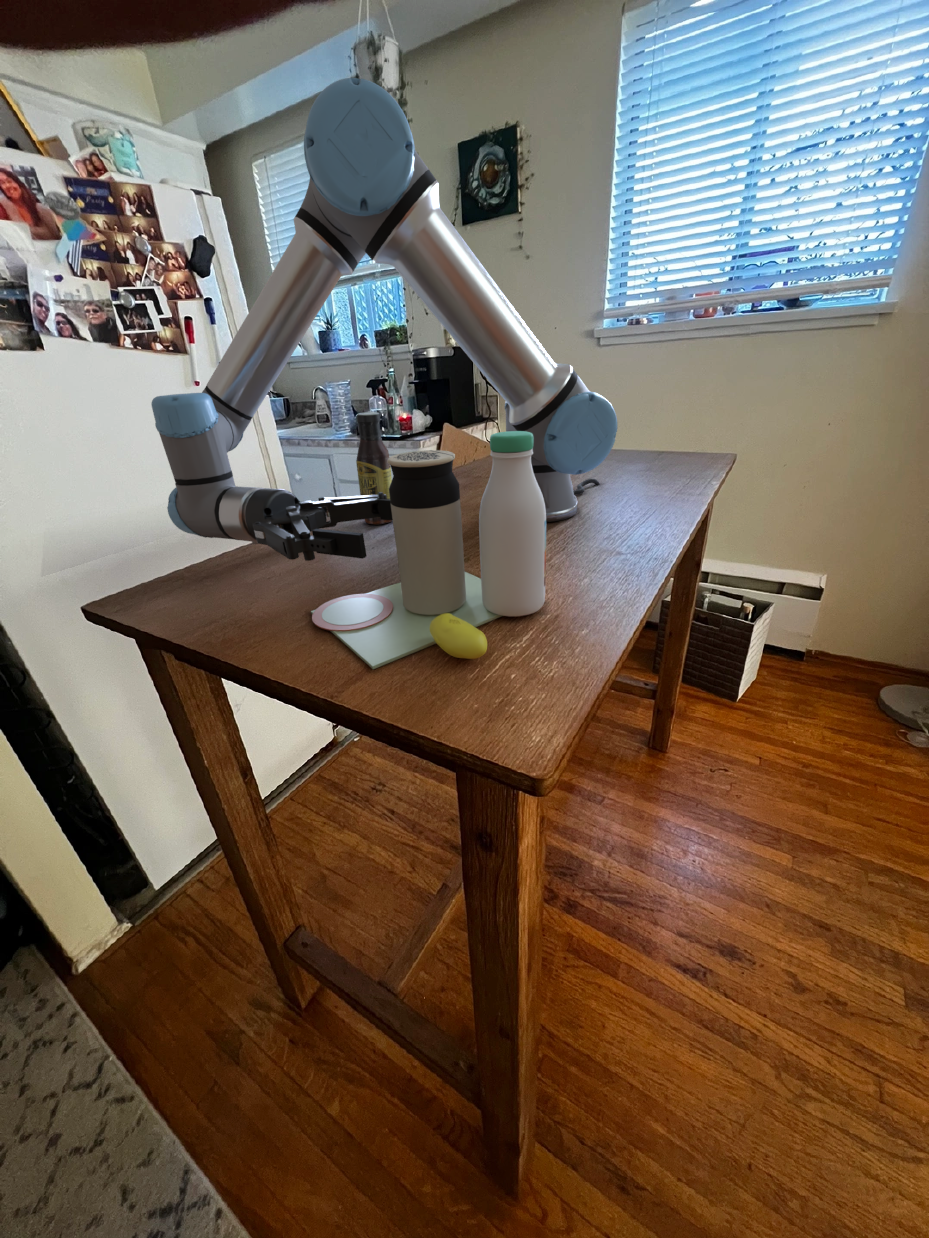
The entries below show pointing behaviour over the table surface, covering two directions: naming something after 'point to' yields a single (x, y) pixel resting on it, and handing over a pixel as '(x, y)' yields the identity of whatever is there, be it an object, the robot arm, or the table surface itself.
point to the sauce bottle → (372, 460)
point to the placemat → (391, 622)
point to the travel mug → (428, 531)
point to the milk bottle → (512, 529)
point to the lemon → (458, 637)
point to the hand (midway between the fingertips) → (395, 527)
